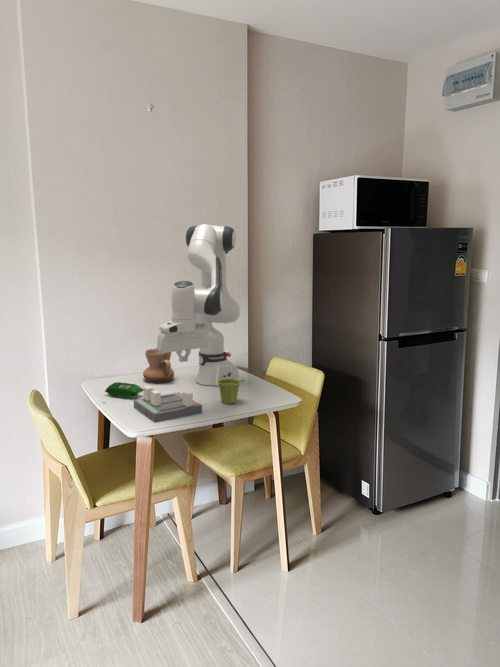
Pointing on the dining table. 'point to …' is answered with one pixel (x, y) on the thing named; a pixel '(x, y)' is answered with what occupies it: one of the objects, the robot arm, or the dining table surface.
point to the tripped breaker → (187, 398)
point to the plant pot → (229, 390)
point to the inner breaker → (147, 393)
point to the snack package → (123, 390)
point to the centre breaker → (155, 398)
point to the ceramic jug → (158, 366)
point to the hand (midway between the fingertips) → (183, 361)
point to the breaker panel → (167, 408)
